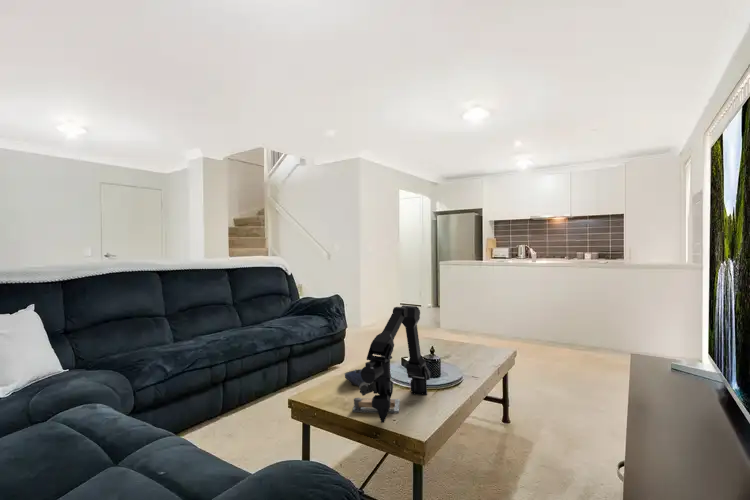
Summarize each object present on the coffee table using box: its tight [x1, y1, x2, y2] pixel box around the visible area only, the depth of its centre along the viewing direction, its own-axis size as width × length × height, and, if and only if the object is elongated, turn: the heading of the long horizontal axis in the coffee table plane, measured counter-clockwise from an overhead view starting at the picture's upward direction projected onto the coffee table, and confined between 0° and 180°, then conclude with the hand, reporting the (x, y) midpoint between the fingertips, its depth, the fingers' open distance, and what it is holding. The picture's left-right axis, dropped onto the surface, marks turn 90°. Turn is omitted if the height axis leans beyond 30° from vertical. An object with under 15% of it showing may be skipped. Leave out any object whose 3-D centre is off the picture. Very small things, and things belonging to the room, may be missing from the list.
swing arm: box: [353, 397, 395, 408], centre depth 148 cm, size 16×3×3 cm, turn 83°
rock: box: [344, 368, 364, 387], centre depth 178 cm, size 16×8×10 cm
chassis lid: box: [351, 397, 401, 414], centre depth 152 cm, size 18×11×1 cm, turn 83°
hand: (383, 416), depth 138 cm, fingers open, 9 cm apart
